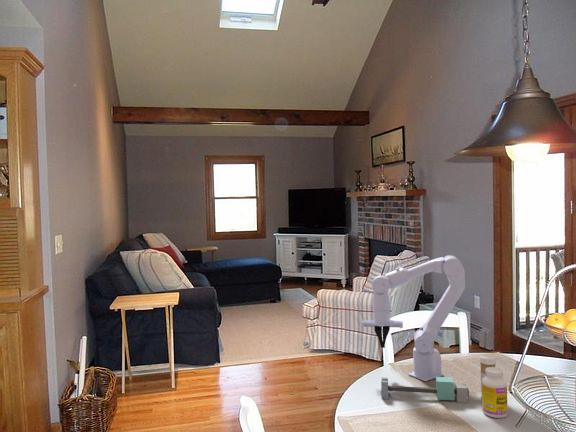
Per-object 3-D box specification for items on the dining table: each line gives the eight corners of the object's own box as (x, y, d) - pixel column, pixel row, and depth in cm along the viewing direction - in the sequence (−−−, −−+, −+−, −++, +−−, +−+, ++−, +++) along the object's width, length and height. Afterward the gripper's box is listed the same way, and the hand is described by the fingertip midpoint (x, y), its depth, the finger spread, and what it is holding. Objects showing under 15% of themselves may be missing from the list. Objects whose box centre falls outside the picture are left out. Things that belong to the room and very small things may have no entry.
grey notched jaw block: (381, 398, 149) (381, 382, 149) (382, 392, 154) (381, 376, 154) (388, 399, 149) (387, 382, 149) (388, 392, 154) (387, 376, 153)
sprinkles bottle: (500, 400, 145) (499, 356, 144) (490, 403, 143) (488, 359, 142) (487, 394, 149) (486, 352, 148) (477, 398, 147) (476, 355, 146)
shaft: (386, 391, 151) (386, 386, 150) (386, 389, 152) (386, 385, 152) (462, 395, 145) (462, 390, 145) (462, 393, 147) (461, 388, 147)
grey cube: (457, 402, 145) (456, 387, 144) (456, 397, 148) (455, 383, 148) (469, 402, 144) (469, 388, 144) (467, 397, 147) (467, 383, 147)
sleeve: (437, 399, 146) (436, 381, 146) (436, 394, 150) (435, 376, 149) (454, 400, 145) (453, 382, 144) (453, 394, 148) (452, 377, 148)
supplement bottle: (497, 421, 132) (495, 375, 131) (477, 412, 138) (476, 368, 137) (513, 415, 135) (511, 370, 134) (493, 406, 141) (492, 364, 140)
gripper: (360, 311, 167) (361, 349, 167) (402, 312, 163) (403, 351, 164) (361, 307, 174) (363, 343, 174) (402, 307, 170) (403, 344, 171)
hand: (382, 346), depth 170 cm, fingers closed
